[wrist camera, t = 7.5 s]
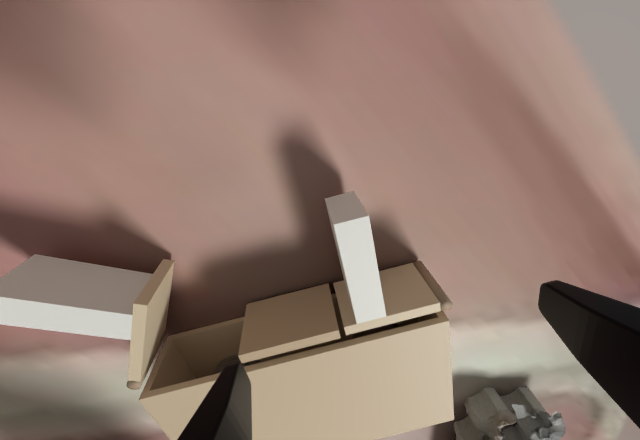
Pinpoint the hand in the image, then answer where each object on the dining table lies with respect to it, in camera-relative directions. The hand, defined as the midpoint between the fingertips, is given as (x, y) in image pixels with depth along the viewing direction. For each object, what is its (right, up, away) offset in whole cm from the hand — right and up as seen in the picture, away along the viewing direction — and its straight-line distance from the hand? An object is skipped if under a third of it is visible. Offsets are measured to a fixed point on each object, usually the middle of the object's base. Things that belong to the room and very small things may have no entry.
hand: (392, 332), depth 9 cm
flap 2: (+1, +2, +9) cm, 10 cm away
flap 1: (-14, -1, +9) cm, 17 cm away
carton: (-3, -6, +13) cm, 15 cm away
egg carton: (+14, -16, +20) cm, 29 cm away
